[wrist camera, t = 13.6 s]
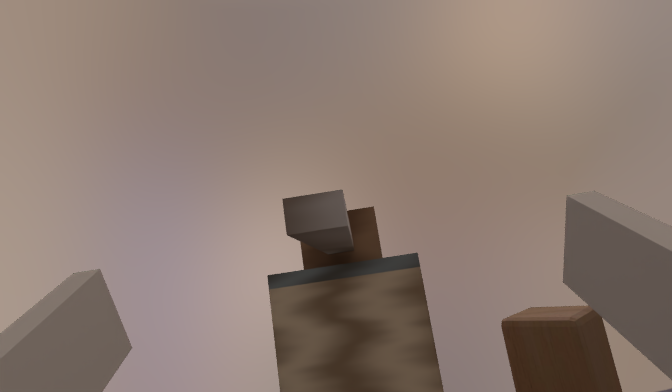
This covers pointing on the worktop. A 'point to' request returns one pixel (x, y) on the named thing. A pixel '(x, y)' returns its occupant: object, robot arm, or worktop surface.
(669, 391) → the worktop surface
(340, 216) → the walnut pull block
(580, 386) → the wooden block
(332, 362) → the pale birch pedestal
